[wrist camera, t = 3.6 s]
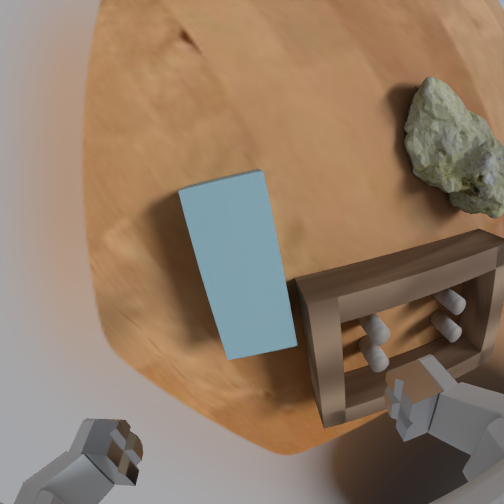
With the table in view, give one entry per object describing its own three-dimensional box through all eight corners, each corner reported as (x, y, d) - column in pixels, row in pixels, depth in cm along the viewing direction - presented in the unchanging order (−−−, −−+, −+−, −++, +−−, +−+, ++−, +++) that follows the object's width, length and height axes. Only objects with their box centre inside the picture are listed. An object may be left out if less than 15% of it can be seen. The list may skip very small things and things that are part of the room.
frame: (294, 278, 23) (307, 304, 18) (479, 228, 23) (510, 241, 18) (313, 395, 27) (324, 428, 22) (468, 338, 26) (490, 359, 22)
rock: (397, 79, 20) (389, 191, 21) (442, 51, 13) (442, 189, 15) (480, 123, 21) (475, 220, 22) (525, 113, 15) (525, 225, 16)
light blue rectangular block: (188, 185, 21) (178, 190, 17) (258, 168, 21) (263, 170, 17) (228, 330, 24) (227, 360, 20) (288, 318, 24) (297, 345, 20)
